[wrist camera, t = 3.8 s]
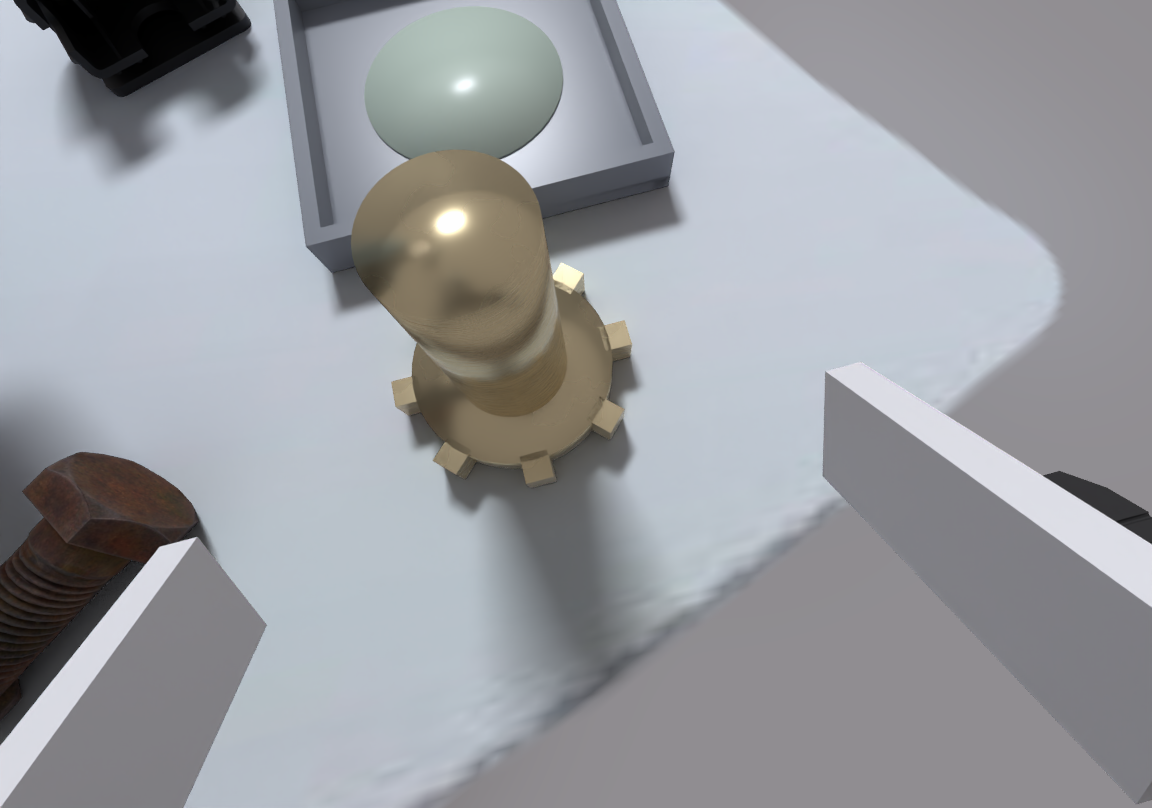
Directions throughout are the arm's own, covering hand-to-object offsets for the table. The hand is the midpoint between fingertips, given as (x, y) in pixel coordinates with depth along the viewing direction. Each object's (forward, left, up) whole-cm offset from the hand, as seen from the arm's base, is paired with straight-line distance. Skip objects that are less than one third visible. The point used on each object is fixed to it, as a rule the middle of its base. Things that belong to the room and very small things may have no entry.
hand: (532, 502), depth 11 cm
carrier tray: (0, +24, -12) cm, 27 cm away
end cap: (-17, +35, -12) cm, 41 cm away
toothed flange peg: (-1, +7, -12) cm, 14 cm away
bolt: (-23, +2, -12) cm, 26 cm away
